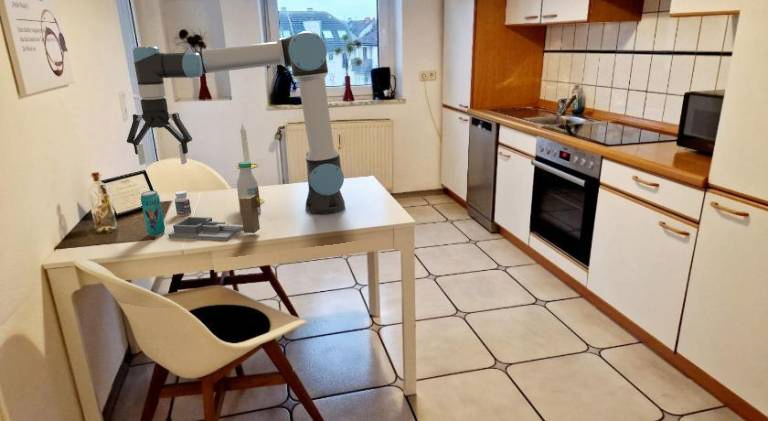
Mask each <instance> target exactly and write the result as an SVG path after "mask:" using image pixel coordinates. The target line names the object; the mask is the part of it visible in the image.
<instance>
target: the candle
mask: <svg viewBox="0 0 768 421" xmlns="http://www.w3.org/2000/svg"><path fill="white" fill-rule="evenodd" d="M247 136H248V135H247V129H246V128H245V126H244V124H243V123H242V124H241V128H240V138H241V146H242V155H243V156H242V157H243V162H246V161H248V162H251V160H250V153H249V144H248V137H247ZM251 167H252V168H251V170H252V169H253V170H254V169H257V168H258V167H259V164H258V163H251ZM236 169H238V170H240V169H239V165H237V166H236ZM264 203H265V200H264V199H263V198H260V205H262V204H264Z"/></svg>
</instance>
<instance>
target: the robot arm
mask: <svg viewBox="0 0 768 421" xmlns="http://www.w3.org/2000/svg"><path fill="white" fill-rule="evenodd" d="M327 52H328V50H327V46H326V42H325V41H324V40H323V38H322V37H321V36H320V35H319V33H318V34H317V33H315V32H314V31H312V30H311V31H310V30H303V31H299V32H297V33H296V34H294V35H291V36H287V37H281V38H280V37H279V38H278V40H277V41H272V42H271V41H270V42H263V43H253V44H248V45H247V44H246V45H245V44H244V45H238V46H237V45H236V46H227V47H219V48H214V49H213V48H210V49H203V50H195V51H185V52H165V53H164V52H161V51H160V50H159V47H158V46H135V47H134V48H133V49H132V56H133V64H134V71H135V74H136V80H137V81H136V82H137V88H138V94H139V97H140V98H141V99H140V106H141V111H142V114H140V113H139V112H136V113H134V114H132V123H131V127H130V129H129V132H128V135H127V137H126V138H127V139H126V143H128V144H132V145H133V148H134V153H135V155H137V156H138V163H139V166H142V165H145V164H147V163H146V158H145V149H144V145H143V143H141V141H142V140H143V139H144V137H145V136H146V134H147V132H148V131H149V130H150V129H155V128H159V129H160V128H161V129H162V128H164V129H165V130H166V131H168V132H169V133H170V134H171V135H172V136H173V137H174V138H175V139H176V140H177V141H178V142H179V144H178V149H179V157H180V164H181V165H186V164H187V163H188V162H187V161H188V160H187V154H188V153H189V149H188V143H189V142H192V141H193V138H192V136H191V134H190V132H189V131H188V130H187V128H186V126H185V125H184V123H183V122H182V120H181V118H180V115H179V113H178V112H174V113H169V111H168V103H167V99H166V97H165V96H166V91H165V90H166V89H165V88H166V87H165V83H164V82H165V81H164V79H169V78H170V79H172V78H173V79H181V78H182V79H186V78H187V79H193V78H200V77H202V76H203V74H204V75H205V74H212V73H218V72H221V73H222V72H229V71H230V72H231V71H238V70H247V69H253V68H264V67H272V66H279V65H281V66H282V67H284V68H289V67H291V72H292V77H293V78H294V79H295V80H296V81H297V82H298V86H299V93H300V100H301V107H302V112H303V120H304V125H305V133H306V139H307V144H308V145H307V146H308V151H307V152H306V154H305V161H306V162H305V163H306V172H307V185H308V191H307V192H308V193H307V197H306V201H305V211H306V213H309V214H312V215H320V216H321V215H331V214H337V213H340V212H342V211H344V210H345V208H346V204H345V203H346V202H345V199H344V197H343V194H342V192H341V189H342V187H343V185H344V183H345V182H344V181H345V175H344V173H343V170H342V164H341V163H342V162H341V157H340V152H339V151H338V150H336V148H335V146H334V139H333V131H332V126H331V124H332V123H331V116H330V110H329V104H328V103H329V102H328V96H327V89H326V83H325V78H327V77H326V76H327V75H328V74H329V69H328V61H327V56H328V55H327V54H328V53H327ZM142 120H143V121H144V124H143V126H142V128H141V130H140V131H139V133H138V134H137V132H138V129H139V127H140V124H141V123H140V122H141V121H142ZM169 120H171V121H173V123H174V125H175V126H176V127H177V129H178V130H179V131H178V130H177V129H176V128H175V127H174V125H173V124H172V123H171V122H170V121H169Z"/></svg>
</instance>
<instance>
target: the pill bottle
mask: <svg viewBox="0 0 768 421" xmlns="http://www.w3.org/2000/svg"><path fill="white" fill-rule="evenodd" d="M174 194H175V198H174V205H175V211H176V215H177V216H178V217H188V216H189V215H191V214H192V207H191V201H190V197H189V196H188V194H187V191H186V190H179V191H176V192H175V193H174Z"/></svg>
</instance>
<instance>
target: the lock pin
mask: <svg viewBox="0 0 768 421" xmlns="http://www.w3.org/2000/svg"><path fill="white" fill-rule="evenodd" d="M239 201H240V207H239V210H240V209H241V213H240V216H241V222H242V224H241V225H233V223H225V224H217V225H215V226H220V230H230V231H240V232H243V233H245V234H256V233H257V232H258V231H259V230H260V229H261V226H260V218H259V214H258V209H257V201H256V195H244V196H242V197H241V198H239V199H238V202H239Z"/></svg>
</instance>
